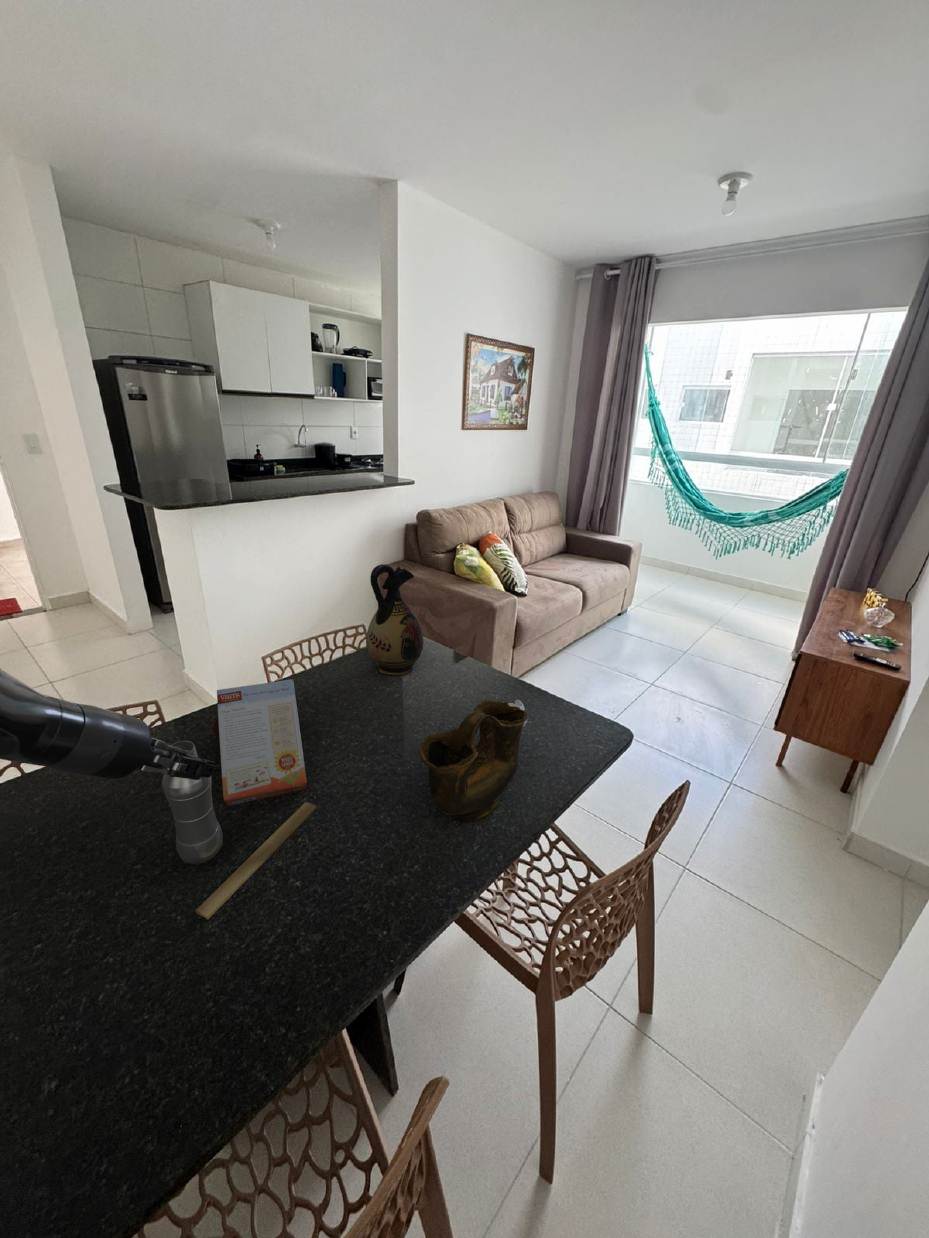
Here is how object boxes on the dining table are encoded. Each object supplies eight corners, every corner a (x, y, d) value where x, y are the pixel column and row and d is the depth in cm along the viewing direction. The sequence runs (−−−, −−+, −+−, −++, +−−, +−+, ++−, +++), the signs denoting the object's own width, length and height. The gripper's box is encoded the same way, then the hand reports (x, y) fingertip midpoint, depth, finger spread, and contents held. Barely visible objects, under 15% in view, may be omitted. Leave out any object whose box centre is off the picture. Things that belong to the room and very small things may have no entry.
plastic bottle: (217, 829, 84) (198, 728, 76) (230, 856, 79) (211, 752, 71) (174, 848, 80) (149, 744, 72) (185, 878, 76) (159, 770, 68)
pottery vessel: (448, 859, 85) (453, 763, 77) (402, 824, 91) (403, 732, 83) (531, 782, 102) (542, 698, 94) (488, 757, 109) (495, 677, 101)
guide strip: (195, 913, 74) (195, 910, 73) (306, 803, 94) (305, 801, 94) (208, 919, 73) (207, 917, 73) (316, 808, 93) (316, 805, 93)
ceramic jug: (402, 649, 152) (402, 552, 140) (433, 670, 141) (437, 567, 129) (351, 665, 142) (346, 561, 130) (380, 689, 131) (379, 579, 119)
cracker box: (306, 790, 98) (294, 688, 106) (307, 783, 93) (294, 677, 101) (226, 807, 93) (220, 698, 101) (222, 801, 88) (216, 687, 96)
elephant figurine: (519, 738, 115) (521, 716, 113) (488, 726, 119) (490, 704, 117) (531, 724, 121) (534, 703, 118) (501, 713, 124) (504, 692, 122)
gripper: (153, 727, 59) (245, 752, 74) (72, 695, 64) (173, 725, 79) (118, 792, 56) (220, 805, 71) (37, 754, 61) (148, 773, 76)
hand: (195, 762), depth 75 cm, fingers closed on plastic bottle, 6 cm apart
